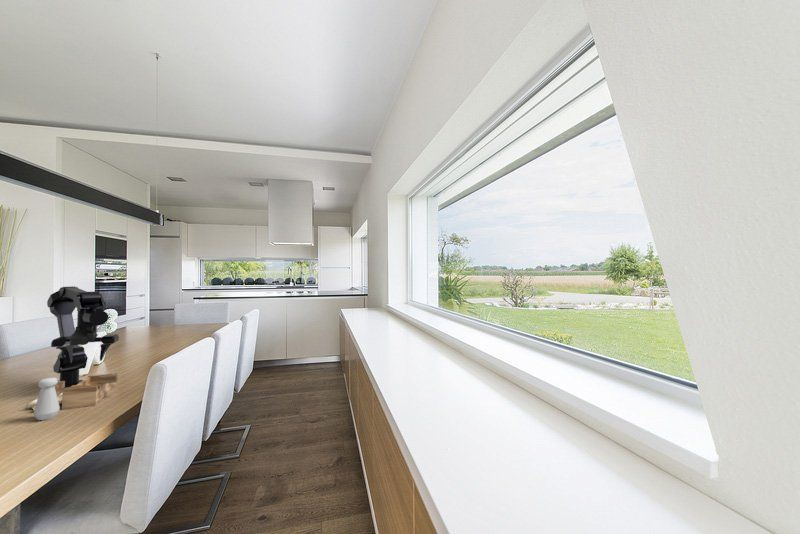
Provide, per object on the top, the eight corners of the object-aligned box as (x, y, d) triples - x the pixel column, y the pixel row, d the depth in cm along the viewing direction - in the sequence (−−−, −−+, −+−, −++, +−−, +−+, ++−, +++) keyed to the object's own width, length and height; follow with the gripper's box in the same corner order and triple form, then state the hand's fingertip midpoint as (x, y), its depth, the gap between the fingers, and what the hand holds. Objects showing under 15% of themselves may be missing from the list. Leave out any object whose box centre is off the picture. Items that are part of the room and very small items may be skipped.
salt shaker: (41, 423, 102) (43, 382, 102) (28, 420, 103) (29, 380, 103) (64, 414, 108) (65, 376, 108) (51, 413, 109) (52, 375, 109)
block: (100, 382, 122) (101, 375, 122) (117, 380, 124) (117, 374, 124) (98, 384, 119) (98, 377, 119) (115, 382, 122) (115, 376, 122)
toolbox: (88, 388, 131) (88, 371, 131) (116, 385, 135) (117, 369, 135) (61, 409, 112) (62, 390, 112) (95, 405, 116) (96, 386, 116)
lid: (48, 396, 123) (48, 380, 123) (78, 392, 127) (78, 377, 127) (21, 414, 108) (21, 396, 108) (56, 409, 111) (56, 392, 112)
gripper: (43, 327, 116) (42, 370, 116) (109, 324, 125) (108, 364, 125) (59, 322, 126) (58, 362, 126) (119, 320, 135) (118, 357, 135)
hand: (86, 361), depth 128 cm, fingers open, 9 cm apart
